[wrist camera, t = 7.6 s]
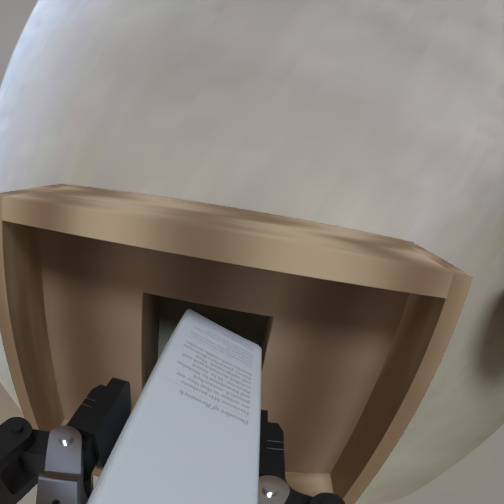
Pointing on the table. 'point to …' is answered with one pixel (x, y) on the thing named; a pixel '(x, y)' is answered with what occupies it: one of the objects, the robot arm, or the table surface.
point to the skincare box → (191, 424)
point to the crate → (229, 297)
